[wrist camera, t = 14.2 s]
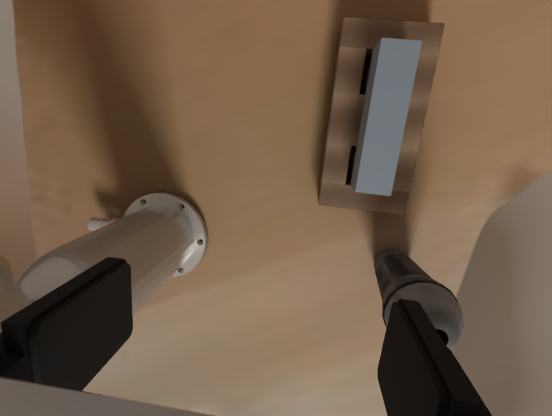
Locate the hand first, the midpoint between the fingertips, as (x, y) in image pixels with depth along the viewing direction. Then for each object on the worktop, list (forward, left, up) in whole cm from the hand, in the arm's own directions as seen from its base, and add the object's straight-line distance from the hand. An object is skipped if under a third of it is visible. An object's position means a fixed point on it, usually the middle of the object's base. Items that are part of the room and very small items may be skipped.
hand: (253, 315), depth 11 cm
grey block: (+8, +8, -30) cm, 32 cm away
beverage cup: (+14, -10, -31) cm, 35 cm away
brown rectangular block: (+8, +8, -30) cm, 32 cm away
